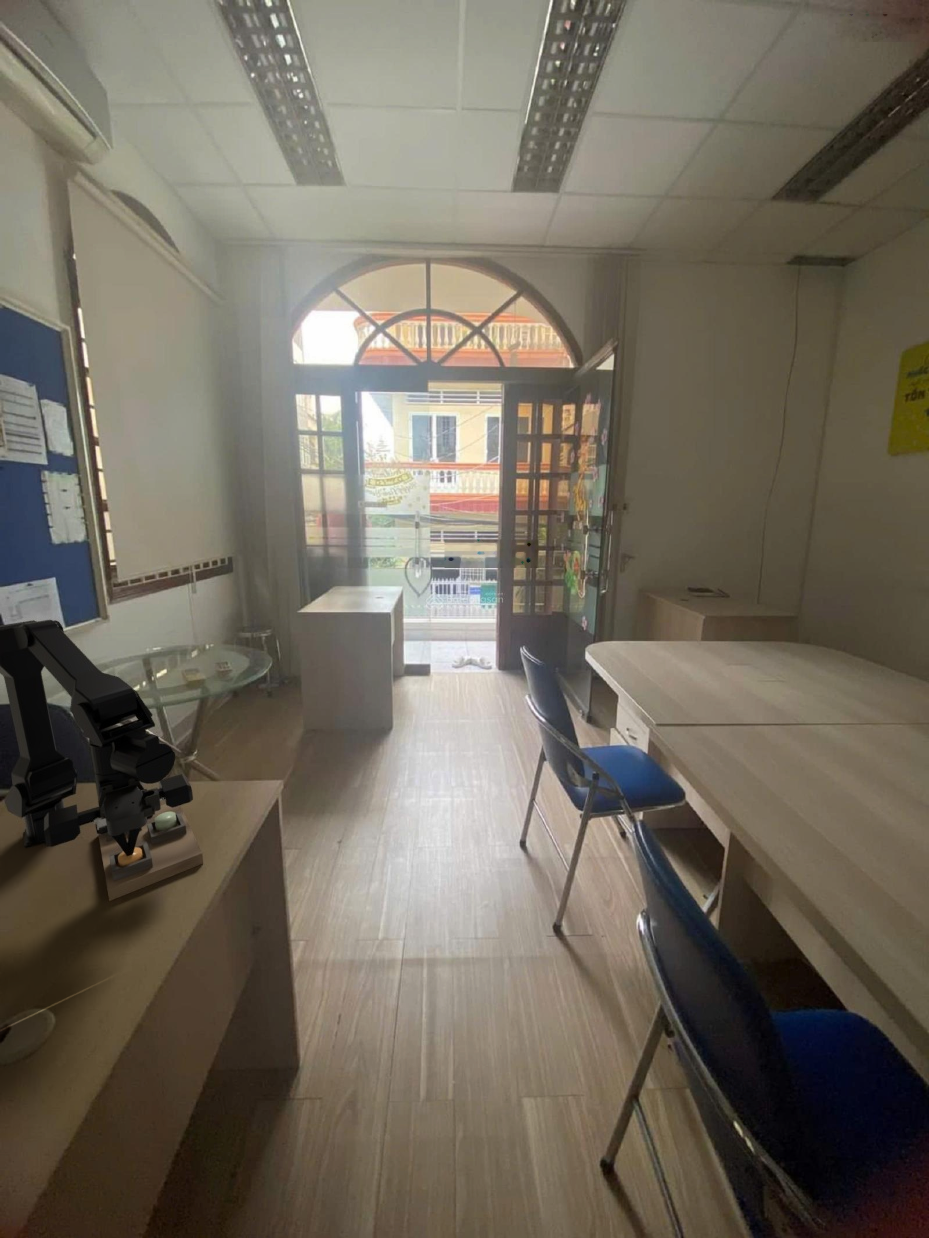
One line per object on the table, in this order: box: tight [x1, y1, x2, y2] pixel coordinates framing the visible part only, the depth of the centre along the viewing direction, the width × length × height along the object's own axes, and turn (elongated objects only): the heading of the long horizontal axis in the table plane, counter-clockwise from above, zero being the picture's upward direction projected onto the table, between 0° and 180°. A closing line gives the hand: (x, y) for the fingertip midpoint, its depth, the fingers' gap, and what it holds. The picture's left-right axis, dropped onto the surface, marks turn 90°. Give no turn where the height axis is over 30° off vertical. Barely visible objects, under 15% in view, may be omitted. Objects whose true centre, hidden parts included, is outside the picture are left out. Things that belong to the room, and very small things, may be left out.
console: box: [98, 803, 204, 902], centre depth 85 cm, size 20×13×4 cm, turn 40°
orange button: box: [118, 847, 143, 868], centre depth 79 cm, size 3×3×2 cm
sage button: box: [155, 812, 177, 831], centre depth 87 cm, size 3×3×2 cm
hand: (129, 853), depth 79 cm, fingers closed, pressing on orange button
